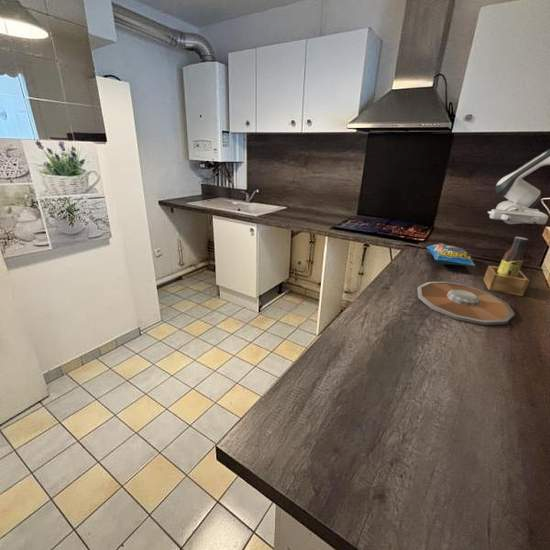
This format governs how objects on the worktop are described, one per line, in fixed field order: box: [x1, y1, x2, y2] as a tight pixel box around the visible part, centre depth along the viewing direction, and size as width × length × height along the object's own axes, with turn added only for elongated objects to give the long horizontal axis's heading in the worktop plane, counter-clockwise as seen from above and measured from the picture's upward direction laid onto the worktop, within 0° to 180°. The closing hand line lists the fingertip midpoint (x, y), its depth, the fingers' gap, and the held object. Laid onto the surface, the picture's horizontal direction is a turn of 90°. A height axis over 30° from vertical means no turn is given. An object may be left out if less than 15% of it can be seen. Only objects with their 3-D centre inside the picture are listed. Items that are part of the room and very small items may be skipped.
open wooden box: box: [483, 265, 530, 297], centre depth 116 cm, size 11×11×7 cm
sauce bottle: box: [496, 236, 529, 277], centre depth 113 cm, size 7×6×20 cm
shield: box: [416, 281, 516, 327], centre depth 103 cm, size 30×3×30 cm
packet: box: [426, 242, 476, 267], centre depth 139 cm, size 17×24×8 cm
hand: (522, 219), depth 122 cm, fingers open, 8 cm apart
